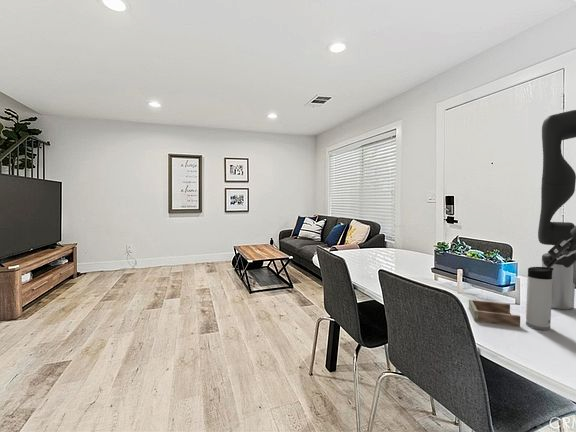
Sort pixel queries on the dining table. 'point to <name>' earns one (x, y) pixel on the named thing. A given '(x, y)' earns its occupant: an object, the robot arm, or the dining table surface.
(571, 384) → the dining table surface
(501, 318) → the brown wooden tray
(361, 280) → the dining table surface
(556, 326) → the dining table surface
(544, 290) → the travel mug
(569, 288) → the robot arm
